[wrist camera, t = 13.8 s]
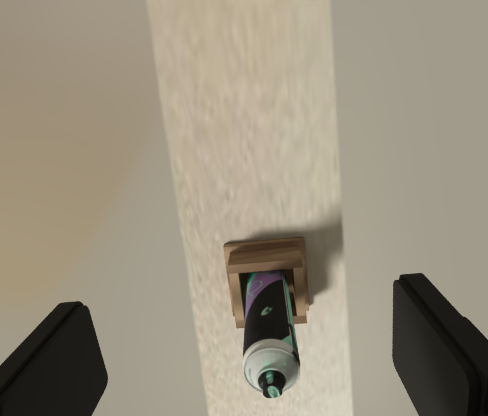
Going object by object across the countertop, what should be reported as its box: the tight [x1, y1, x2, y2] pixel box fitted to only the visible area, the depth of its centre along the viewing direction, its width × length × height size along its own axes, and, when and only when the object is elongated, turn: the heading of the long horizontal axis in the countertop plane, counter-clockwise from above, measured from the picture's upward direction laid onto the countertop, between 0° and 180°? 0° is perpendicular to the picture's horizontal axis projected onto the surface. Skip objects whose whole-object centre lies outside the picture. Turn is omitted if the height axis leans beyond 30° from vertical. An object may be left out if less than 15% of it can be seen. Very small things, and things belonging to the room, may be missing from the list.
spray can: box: [243, 269, 300, 398], centre depth 40 cm, size 6×6×20 cm
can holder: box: [223, 237, 309, 328], centre depth 48 cm, size 11×11×5 cm
